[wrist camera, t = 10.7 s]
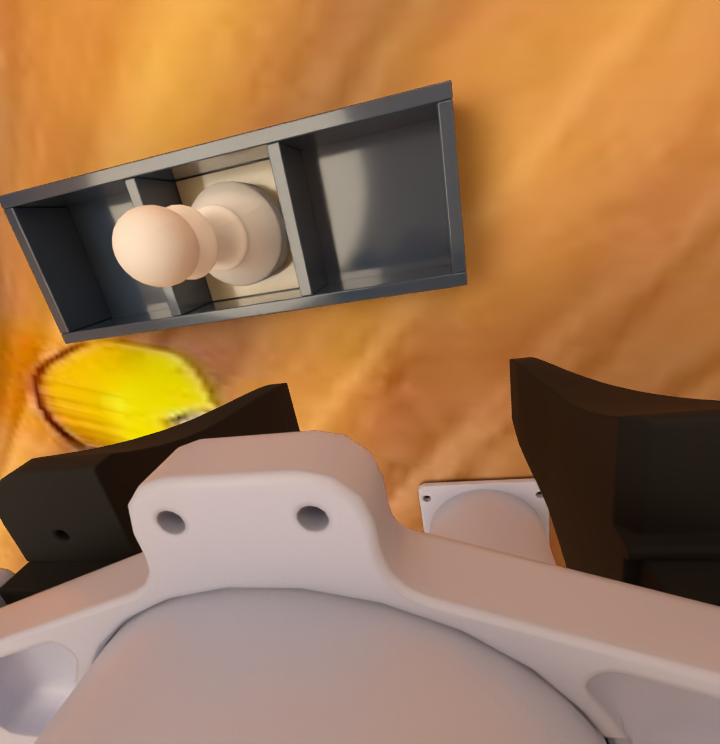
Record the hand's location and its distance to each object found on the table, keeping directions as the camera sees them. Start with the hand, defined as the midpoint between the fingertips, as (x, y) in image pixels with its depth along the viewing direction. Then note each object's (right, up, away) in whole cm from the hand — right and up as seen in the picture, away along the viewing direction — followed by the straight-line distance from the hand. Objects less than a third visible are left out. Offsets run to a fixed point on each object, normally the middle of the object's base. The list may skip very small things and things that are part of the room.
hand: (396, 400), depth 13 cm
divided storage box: (-7, +9, +9) cm, 14 cm away
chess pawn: (-7, +8, +9) cm, 14 cm away
